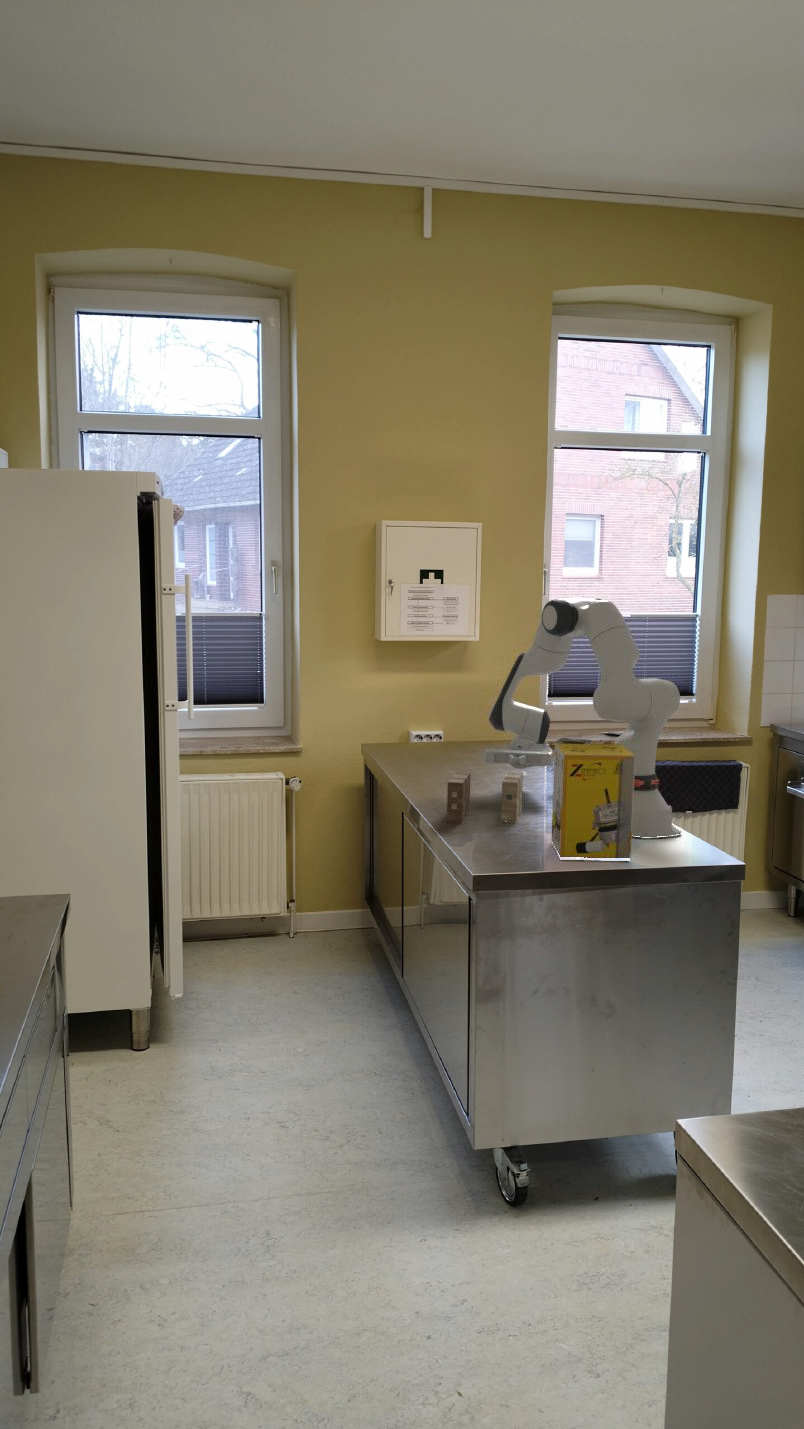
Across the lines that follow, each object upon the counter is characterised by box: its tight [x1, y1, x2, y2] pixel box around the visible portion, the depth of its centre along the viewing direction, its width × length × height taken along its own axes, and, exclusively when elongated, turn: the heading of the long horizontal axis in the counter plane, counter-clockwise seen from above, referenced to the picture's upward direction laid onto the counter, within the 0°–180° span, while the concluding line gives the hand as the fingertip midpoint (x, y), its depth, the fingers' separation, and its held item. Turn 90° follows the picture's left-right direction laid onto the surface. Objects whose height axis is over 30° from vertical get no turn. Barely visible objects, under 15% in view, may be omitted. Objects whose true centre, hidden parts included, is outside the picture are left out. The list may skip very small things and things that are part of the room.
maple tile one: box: [500, 771, 524, 823], centre depth 276 cm, size 14×4×11 cm, turn 167°
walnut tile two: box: [446, 771, 472, 824], centre depth 275 cm, size 14×4×11 cm, turn 167°
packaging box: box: [550, 743, 635, 858], centre depth 240 cm, size 16×16×25 cm
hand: (515, 761), depth 289 cm, fingers closed
